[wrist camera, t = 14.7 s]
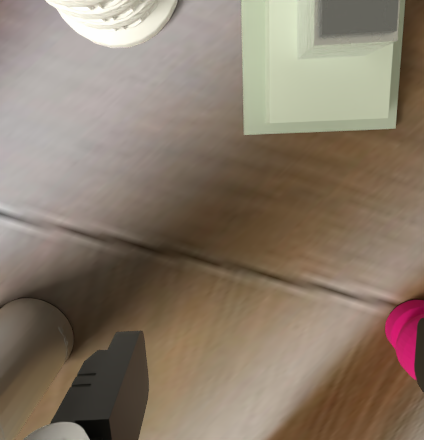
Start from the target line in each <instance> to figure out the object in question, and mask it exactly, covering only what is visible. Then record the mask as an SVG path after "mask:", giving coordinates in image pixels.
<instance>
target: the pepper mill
mask: <svg viewBox="0 0 424 440" xmlns="http://www.w3.org/2000/svg"><path fill="white" fill-rule="evenodd" d="M421 318H424V300H411V301H407V302H405V303H402V304H400V305H399V306H397V307H396V308H395V309H394V310H393V311H392V312H391V313H390V315H389V317H388V319H387V321H386V325H385V332H386V336H387V338H388V340H389V342H390V343H391V344H392V346H393V347H394V348H395V349H396V354H397V358H398V360H399V362H400V364H401V366H402V367H403V368H404V369H405V370H406V371H407V373H408V374H409V375H410V376H411V377H412V378H414V379H415V380H416V376H415V371H414V362H415V349H416V335H417V325H418V322H419V320H420V319H421Z"/></svg>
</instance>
